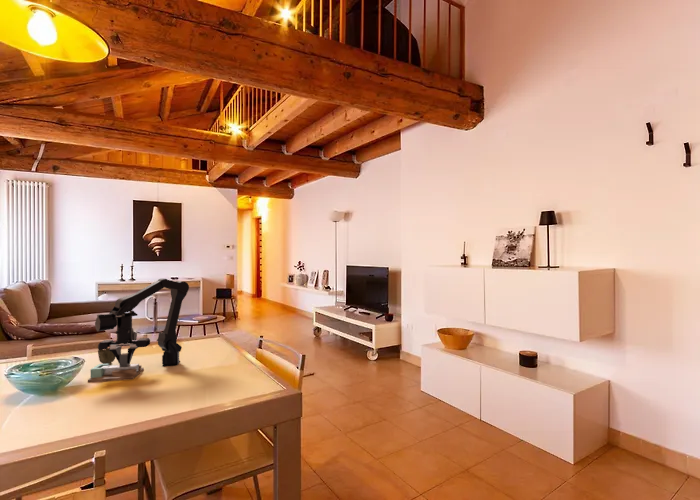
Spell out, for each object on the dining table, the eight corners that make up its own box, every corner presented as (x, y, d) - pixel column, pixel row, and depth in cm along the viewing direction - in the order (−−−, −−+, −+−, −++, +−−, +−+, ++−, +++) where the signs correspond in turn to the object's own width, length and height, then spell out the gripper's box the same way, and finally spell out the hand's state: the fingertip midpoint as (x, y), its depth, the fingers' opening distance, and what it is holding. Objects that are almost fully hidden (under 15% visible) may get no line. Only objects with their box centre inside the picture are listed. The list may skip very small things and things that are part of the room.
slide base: (143, 369, 168) (143, 363, 168) (132, 379, 155) (132, 372, 155) (102, 372, 165) (102, 365, 165) (87, 382, 152) (87, 375, 152)
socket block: (109, 371, 163) (109, 363, 163) (101, 377, 155) (101, 368, 155) (99, 372, 162) (99, 364, 162) (90, 377, 155) (90, 369, 155)
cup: (101, 369, 169) (101, 351, 169) (95, 366, 174) (95, 349, 174) (119, 365, 175) (119, 348, 175) (112, 362, 180) (112, 346, 180)
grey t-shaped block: (139, 370, 163) (139, 352, 164) (135, 372, 160) (135, 354, 160) (103, 372, 161) (103, 354, 161) (99, 375, 157) (99, 356, 157)
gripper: (153, 323, 171) (154, 357, 170) (108, 325, 167) (108, 360, 167) (145, 327, 160) (145, 364, 159) (97, 329, 156) (97, 367, 156)
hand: (124, 363), depth 161 cm, fingers closed on grey t-shaped block, 3 cm apart
